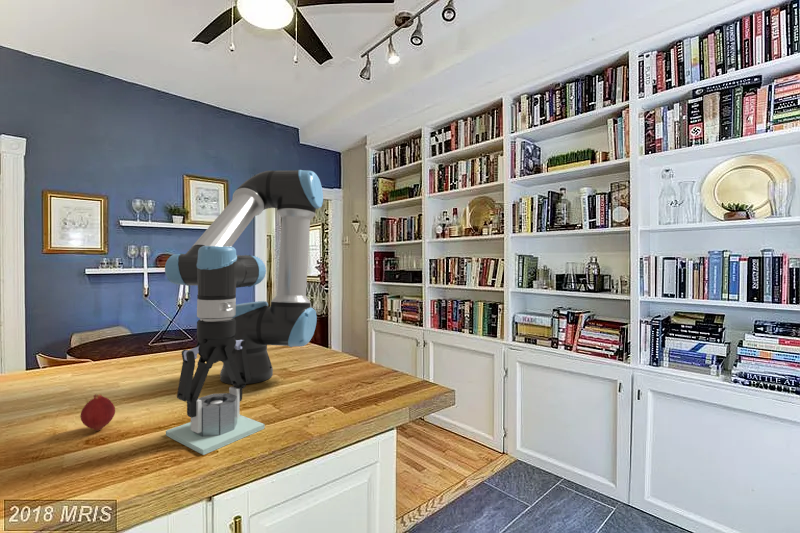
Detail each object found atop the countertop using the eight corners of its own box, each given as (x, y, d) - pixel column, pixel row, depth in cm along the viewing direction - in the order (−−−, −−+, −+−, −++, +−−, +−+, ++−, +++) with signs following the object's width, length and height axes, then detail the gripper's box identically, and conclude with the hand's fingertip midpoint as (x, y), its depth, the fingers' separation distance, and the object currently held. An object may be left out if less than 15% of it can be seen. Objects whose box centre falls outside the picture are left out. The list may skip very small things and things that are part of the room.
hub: (187, 429, 84) (187, 401, 83) (222, 416, 90) (222, 390, 90) (208, 439, 79) (209, 410, 79) (243, 425, 86) (244, 398, 86)
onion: (93, 424, 87) (93, 388, 87) (120, 424, 88) (120, 388, 88) (74, 436, 82) (73, 398, 81) (103, 436, 82) (103, 398, 82)
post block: (165, 435, 83) (165, 404, 83) (226, 413, 95) (226, 386, 94) (203, 455, 75) (203, 421, 75) (264, 428, 87) (264, 399, 87)
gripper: (176, 327, 73) (175, 447, 74) (268, 314, 91) (267, 412, 91) (155, 322, 77) (155, 437, 78) (248, 311, 95) (247, 404, 96)
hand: (215, 423), depth 85 cm, fingers closed on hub, 8 cm apart
